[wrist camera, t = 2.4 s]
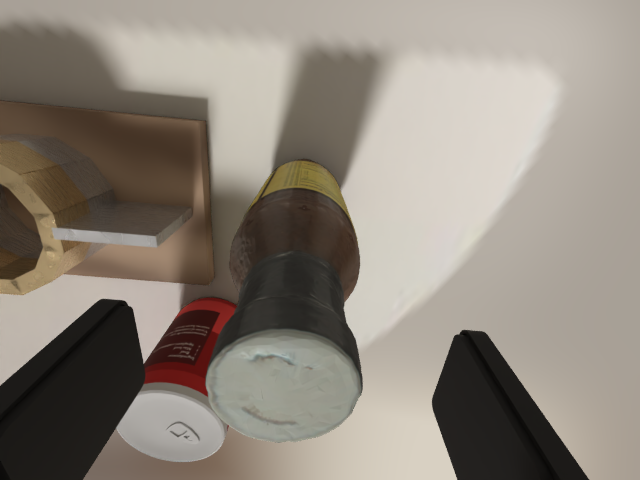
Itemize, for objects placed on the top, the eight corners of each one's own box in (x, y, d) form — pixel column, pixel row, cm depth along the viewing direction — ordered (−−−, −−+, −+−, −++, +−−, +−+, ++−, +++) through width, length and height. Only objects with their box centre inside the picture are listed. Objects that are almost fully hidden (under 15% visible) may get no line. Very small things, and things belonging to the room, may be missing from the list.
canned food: (234, 365, 34) (198, 475, 24) (166, 333, 32) (96, 438, 22) (269, 319, 31) (245, 420, 21) (197, 281, 29) (134, 373, 19)
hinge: (196, 264, 27) (165, 305, 21) (-64, 243, 26) (-167, 281, 20) (187, 149, 23) (145, 163, 17) (-122, 120, 22) (-268, 124, 16)
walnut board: (214, 276, 29) (209, 285, 28) (-48, 256, 28) (-66, 264, 27) (205, 120, 23) (198, 121, 22) (-123, 88, 22) (-151, 87, 21)
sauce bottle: (295, 240, 28) (249, 501, 9) (251, 183, 25) (82, 380, 7) (355, 202, 26) (440, 424, 8) (315, 138, 24) (303, 244, 6)
